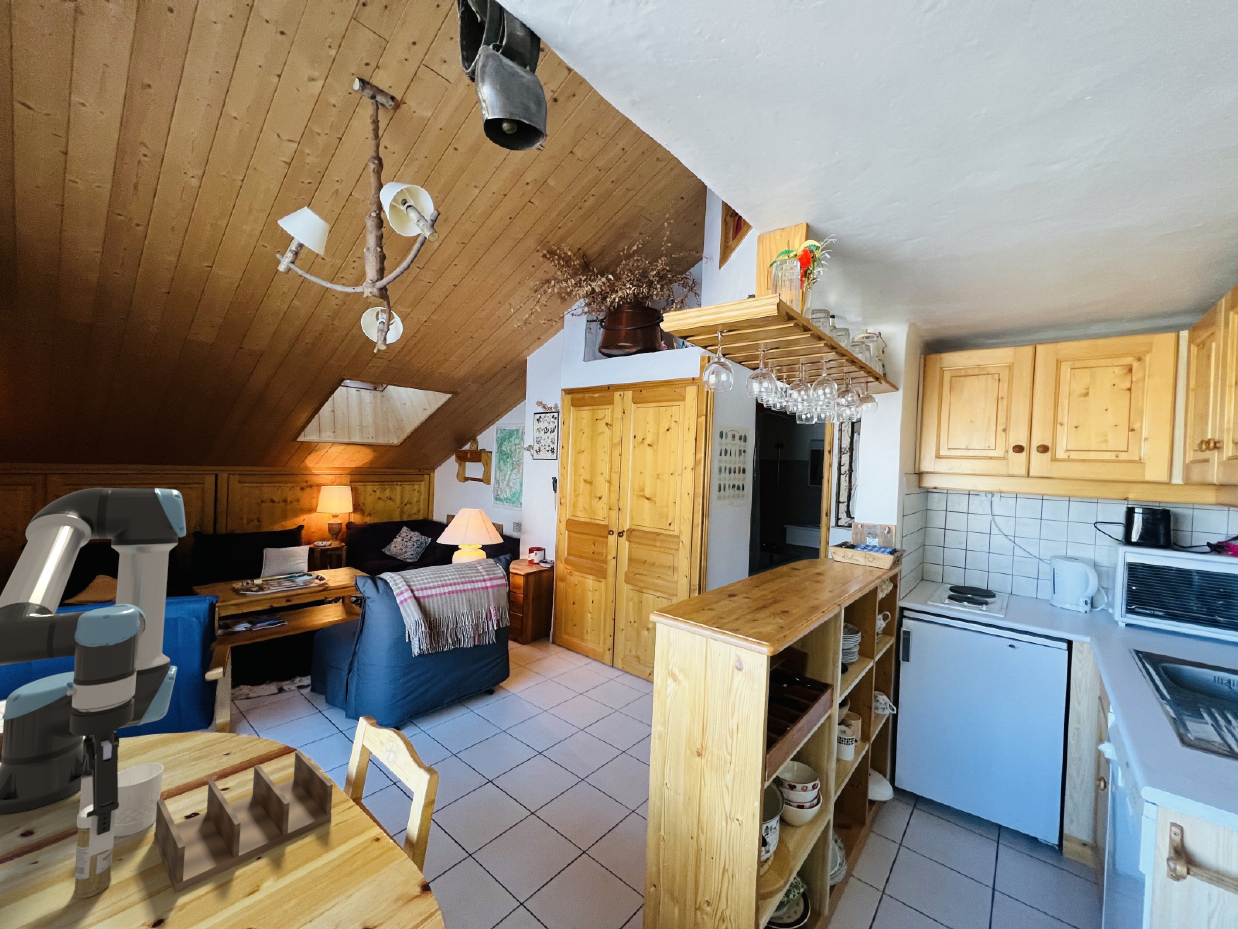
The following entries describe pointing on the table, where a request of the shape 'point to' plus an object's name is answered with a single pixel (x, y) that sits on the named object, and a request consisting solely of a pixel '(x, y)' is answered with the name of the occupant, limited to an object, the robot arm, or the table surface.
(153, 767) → the white cup
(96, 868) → the sprinkles bottle
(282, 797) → the slot rack
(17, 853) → the table surface
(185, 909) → the table surface
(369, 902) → the table surface
